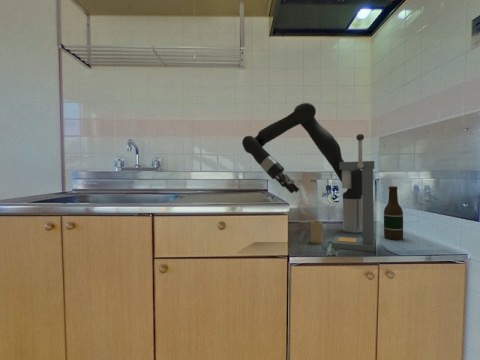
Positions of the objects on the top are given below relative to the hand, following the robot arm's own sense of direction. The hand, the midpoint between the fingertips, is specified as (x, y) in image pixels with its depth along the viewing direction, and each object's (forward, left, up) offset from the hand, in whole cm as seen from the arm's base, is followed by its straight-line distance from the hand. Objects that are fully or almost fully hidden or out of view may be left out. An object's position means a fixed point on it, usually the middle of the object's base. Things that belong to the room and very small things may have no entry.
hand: (295, 191), depth 124 cm
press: (+2, +25, -22) cm, 33 cm away
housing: (+2, +10, -22) cm, 24 cm away
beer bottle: (-19, +41, -23) cm, 50 cm away
